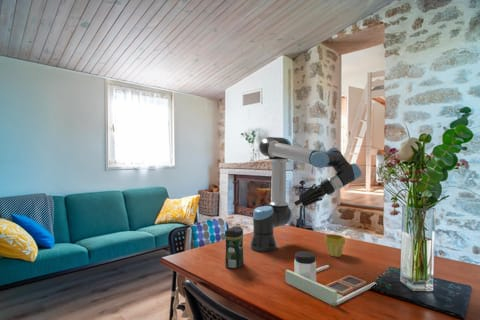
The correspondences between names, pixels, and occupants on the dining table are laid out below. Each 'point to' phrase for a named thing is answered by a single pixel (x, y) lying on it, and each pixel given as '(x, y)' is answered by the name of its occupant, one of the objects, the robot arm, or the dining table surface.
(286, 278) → the pale green u-shaped frame
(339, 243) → the plant pot
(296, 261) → the jar
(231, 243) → the coffee jar
